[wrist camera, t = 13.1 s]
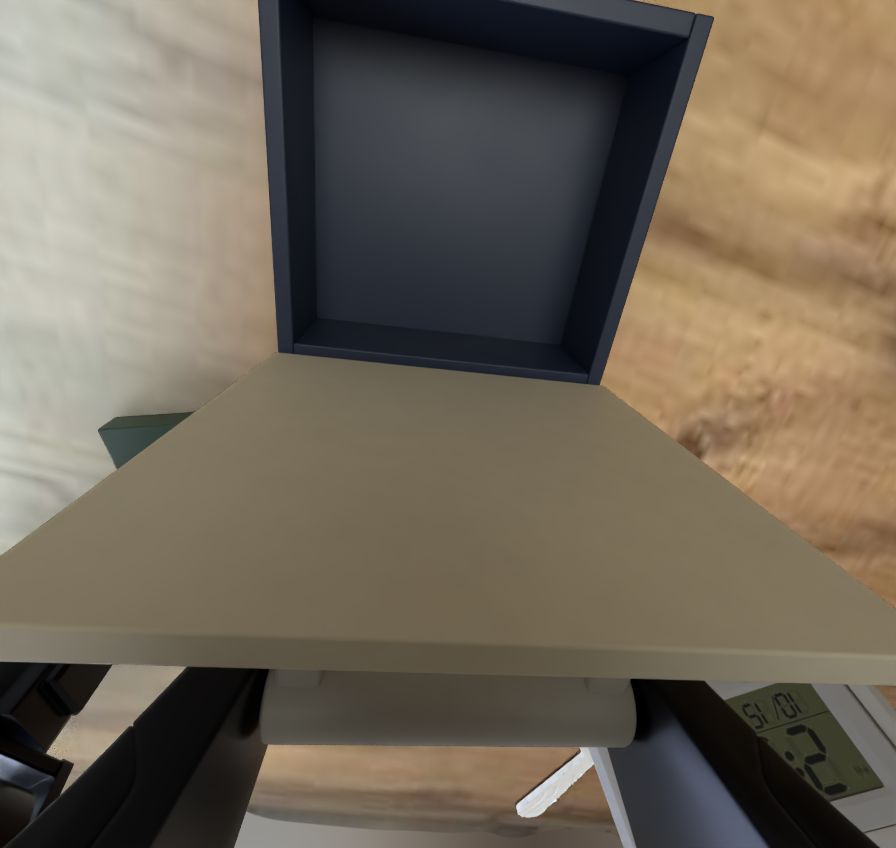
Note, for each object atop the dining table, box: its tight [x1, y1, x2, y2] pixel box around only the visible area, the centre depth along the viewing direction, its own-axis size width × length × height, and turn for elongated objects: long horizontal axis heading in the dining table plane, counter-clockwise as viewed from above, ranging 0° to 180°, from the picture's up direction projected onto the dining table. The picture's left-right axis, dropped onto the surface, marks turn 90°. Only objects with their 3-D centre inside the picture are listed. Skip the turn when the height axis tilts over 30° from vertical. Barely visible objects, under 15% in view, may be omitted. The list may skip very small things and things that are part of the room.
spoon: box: [516, 747, 594, 818], centre depth 34 cm, size 5×18×1 cm, turn 154°
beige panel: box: [0, 352, 896, 748], centre depth 10 cm, size 10×11×4 cm
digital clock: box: [588, 681, 896, 848], centre depth 24 cm, size 16×9×11 cm, turn 106°
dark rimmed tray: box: [258, 0, 714, 385], centre depth 14 cm, size 10×11×4 cm
